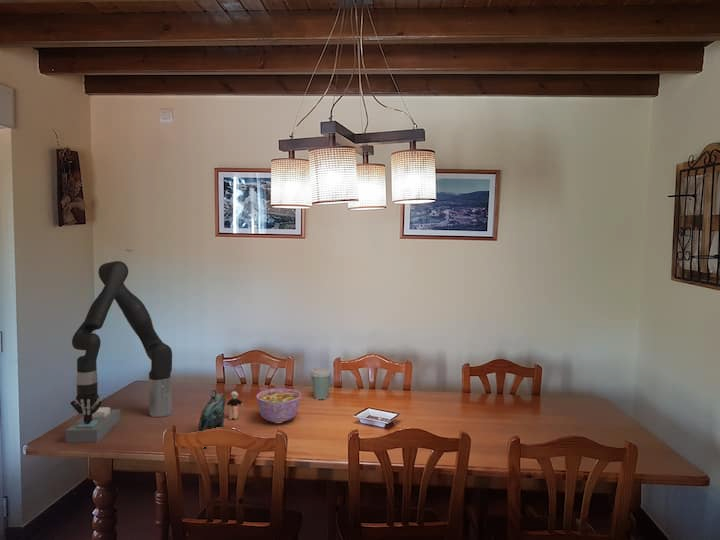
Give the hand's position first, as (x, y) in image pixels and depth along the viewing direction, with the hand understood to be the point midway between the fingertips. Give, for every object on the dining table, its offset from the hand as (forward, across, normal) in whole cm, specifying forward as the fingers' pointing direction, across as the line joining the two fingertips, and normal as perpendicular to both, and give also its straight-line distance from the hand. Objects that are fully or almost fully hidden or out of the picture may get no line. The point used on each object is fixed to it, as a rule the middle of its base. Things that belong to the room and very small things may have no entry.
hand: (87, 423), depth 213 cm
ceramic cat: (+6, -51, +4) cm, 52 cm away
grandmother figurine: (+6, -56, -19) cm, 59 cm away
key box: (+6, 0, -6) cm, 8 cm away
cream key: (+2, 0, -12) cm, 12 cm away
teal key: (+3, 0, 0) cm, 3 cm away
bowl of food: (+6, -76, -17) cm, 78 cm away
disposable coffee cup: (+6, -95, -47) cm, 106 cm away
